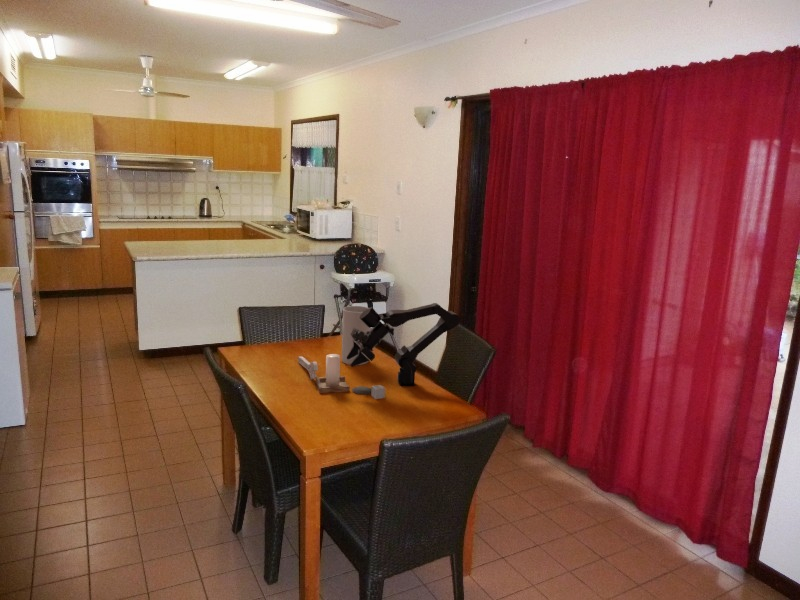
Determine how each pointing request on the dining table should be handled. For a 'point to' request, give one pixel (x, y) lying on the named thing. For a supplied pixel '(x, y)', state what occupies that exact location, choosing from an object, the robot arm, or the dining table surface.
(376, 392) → the block
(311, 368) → the wrench
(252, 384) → the dining table surface
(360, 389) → the coaster
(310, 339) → the dining table surface
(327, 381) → the white rounded tapered post
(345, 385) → the bay
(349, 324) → the cylinder vase
